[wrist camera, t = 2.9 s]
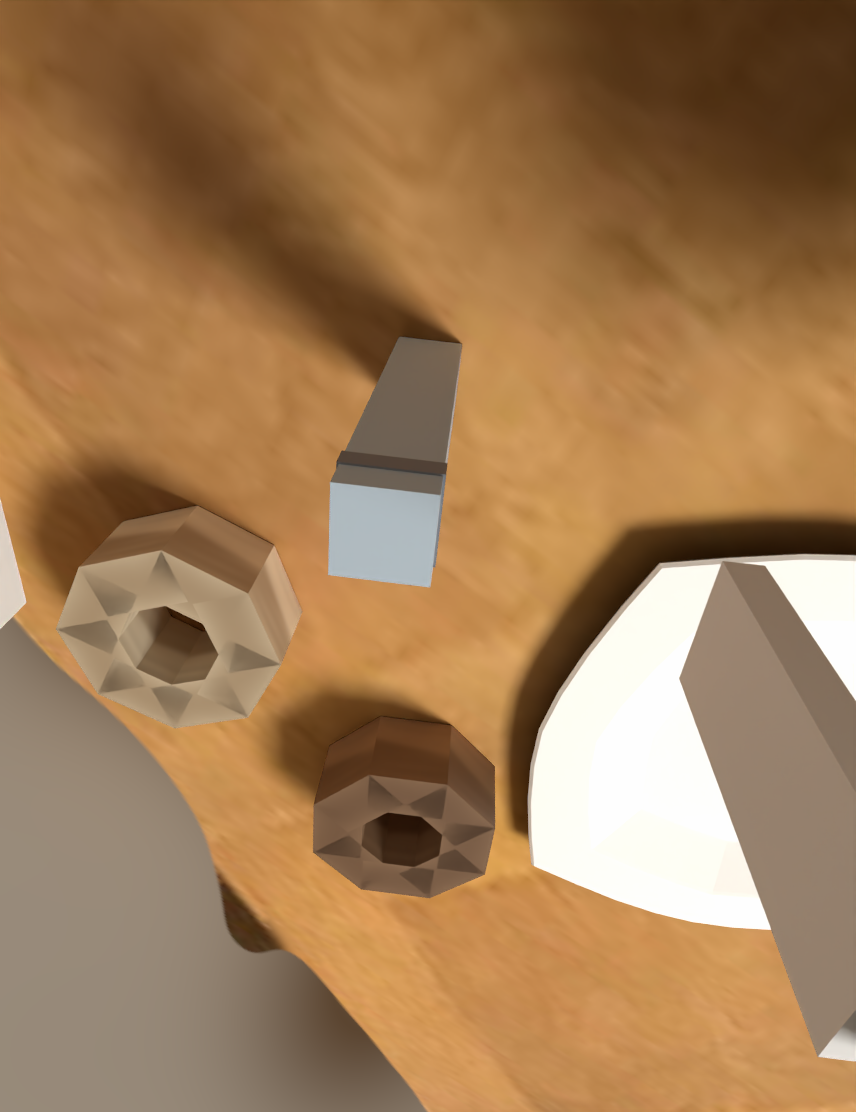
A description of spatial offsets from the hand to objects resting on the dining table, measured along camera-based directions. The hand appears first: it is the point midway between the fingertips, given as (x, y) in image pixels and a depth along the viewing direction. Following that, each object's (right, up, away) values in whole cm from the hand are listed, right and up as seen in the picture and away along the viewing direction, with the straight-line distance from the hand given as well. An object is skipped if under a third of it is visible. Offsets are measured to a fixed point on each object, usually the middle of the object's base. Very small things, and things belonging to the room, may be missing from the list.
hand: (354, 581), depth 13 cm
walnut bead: (0, -11, +22) cm, 25 cm away
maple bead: (-9, -1, +17) cm, 20 cm away
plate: (+18, -8, +20) cm, 28 cm away
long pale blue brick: (+1, +7, +12) cm, 14 cm away
